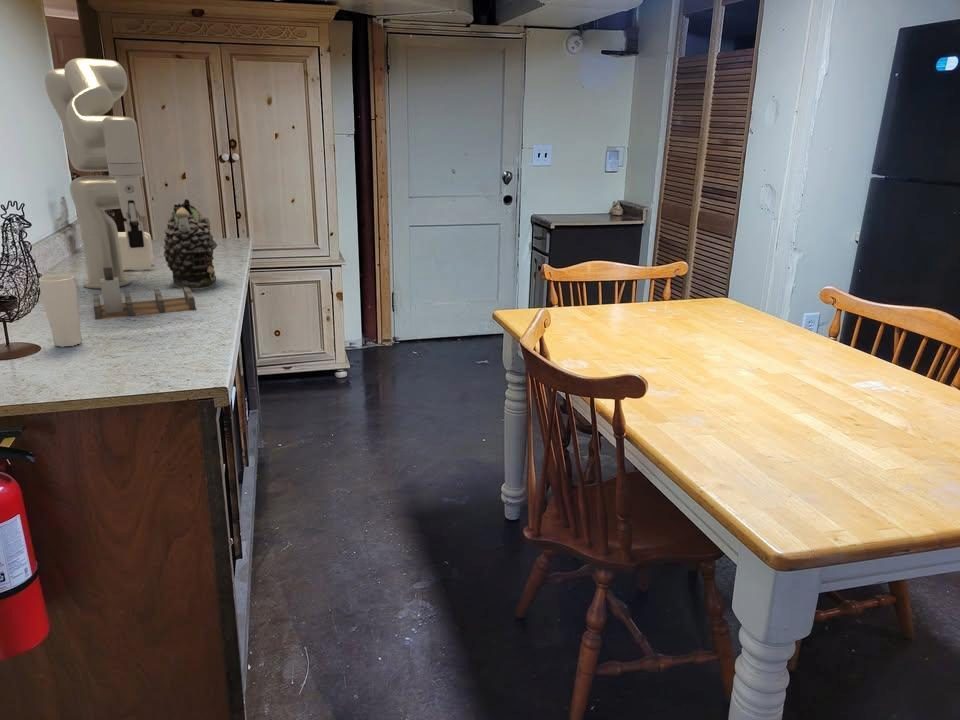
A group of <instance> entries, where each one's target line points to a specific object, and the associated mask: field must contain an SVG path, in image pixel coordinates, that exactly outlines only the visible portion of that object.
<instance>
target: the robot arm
mask: <svg viewBox="0 0 960 720" xmlns="http://www.w3.org/2000/svg"><path fill="white" fill-rule="evenodd" d="M44 85H45V89H46V93H47V96H48V99H49V101H50V103H51V105H52V107H53V108H54V110H55V112H56V114H57V115H58V116H59V119H60V122H61V125H62V131H63V136H64V139H65V144H66V148H67V149H66V150H67V154H68V158H69V161H70V164H71V166H72V167H73V168H74V169H75V170H77V171H80V172H108V175H85V176H79V177H75V178H74V179H73V180H72V181H71V182H70V185H69V191H70V196H71V199H72V202H73V204H74V208H75V210H76V214H77V219H78V224H79V229H80V234H81V242H82V246H83V247H82V248H83V254H84V258H85V260H84V261H85V265H86V271H87V277H88V279H86V280H84V281H83V282H82V283H83V287H84V288H87V289H101V282H100V279H102V278H104V272H103V268H104V267H112V271H113V278H115V277H118V281H119V287H120V288H121V287H123V286H127V285H130V284H131V283H132V282H131V278H129V277H127V276H125V274H124V273H125V271H123V265H122V259H121V252H120V245H119V238H118V232H119V231H118V226H117V224H116V222H115V221H114V219H112V217H111V216H110V215H108V214H107V213H106V212H105V211H106V210H116V209H117V210H118V209H120V211H121V213H122V217H123V218H124V219H126V220H125V221H127V223H128V229H129V231H128V238H129V244H130V247H131V248H138V247H144V242H143V234H142V231H141V227H140V221H141V220H140V217H141V218H142V219H145V218H146V212H145V204H144V198H143V190H142V189H143V188H142V184H141V179H140V178H142V177H143V178H144V177H145V175H144V168H143V161H142V160H143V159H142V154H141V146H140V138H139V131H138V125H137V122H136V120H135V119H134V118H132V117H128V116H124V115H123V116H120V115H105V114H107V113H108V112H109V111H110V110H112V108H113V106H114V103H115V102H116V101H119V99H120V98H121V97H122V96H124V95H125V93H126V92H127V89H128V77H127V74H126V71H125V69H124V67H123V66H122V65H121V64H120V63H119V62H118V61H116V60H112V59H104V58H103V59H102V58H87V57H76V58H72V59H70V60H69V61H68V62H66V63H65V65H64V68H54V69H52V70H48V71H47V72H46V74H45V77H44ZM128 216H129V217H131V218H128ZM136 216H137V218H136ZM130 226H131V227H130Z"/></svg>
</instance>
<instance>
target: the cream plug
mask: <svg viewBox="0 0 960 720" xmlns="http://www.w3.org/2000/svg"><path fill="white" fill-rule="evenodd" d="M128 218H131V217H129V216H128ZM136 218H137V216H136ZM123 225H124V232H126V239H127V246H128V252H129V256H136V255H147V251H146V243H145V236H144V232H145V230H144V223H143V221H142V220H140V227H141V231H142V234H143V242H144V247H138V248H131V247H130V244H129V238H128V231H129V229H128V223H127V220H125V221H123ZM130 227H131V226H130Z"/></svg>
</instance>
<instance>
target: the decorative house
mask: <svg viewBox="0 0 960 720" xmlns="http://www.w3.org/2000/svg"><path fill="white" fill-rule="evenodd" d="M183 201H184V202H183V203H181V204H180V203H178V204H174V205H173V210H172V212H171V216H170V218H168V219H167V226H166V228H165V229H164V233H165V237H164V238H163V240H164V244H163V249H164V251H163V257H165V259H164V260H165V262H166V264H167V267H168V268H169V271H171V272H172V279H173V285H174V286H175V287H177V288H179V289H183V287H188V288H189V290H190V291H191V290H192V291H195V290H202V289H203V290H204V289H207V288H211V287H214V286H215V283H216V279H217V276H216V271H215V265H214V264H213V260H214V259H215V258H214V256H213V255H214V250H215V249H216V248H217V246H218V244H217V242H216V241H215V240H214V236H213V234H212V233H211V222H210V219H209V218H210V217H207V216H206V217H204V216H203V214H202V213H200V211H199V210H198V209H197V208H196V207H195V206H192V205H191V204H190V201H189V199H184V200H183Z"/></svg>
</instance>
